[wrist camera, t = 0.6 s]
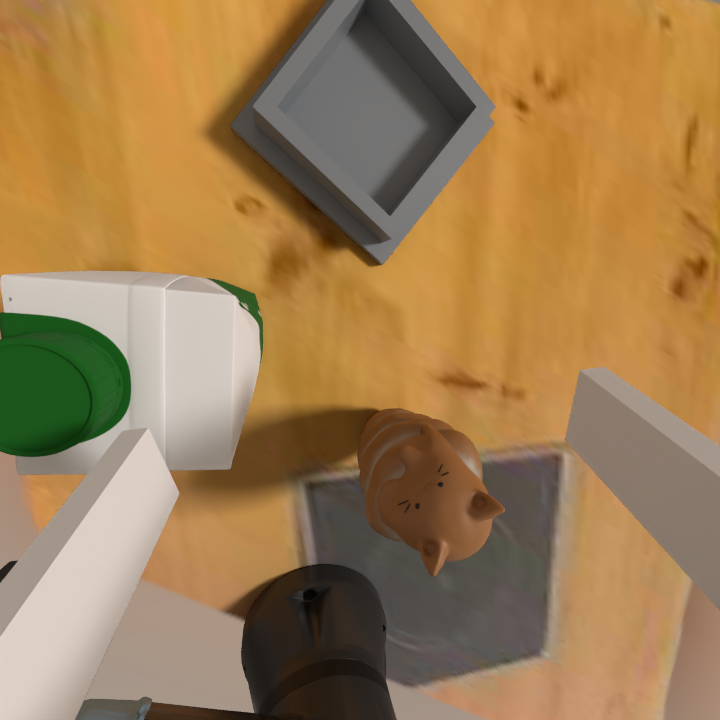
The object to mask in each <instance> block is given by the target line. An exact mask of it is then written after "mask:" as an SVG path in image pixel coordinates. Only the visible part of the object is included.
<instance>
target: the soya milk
mask: <svg viewBox="0 0 720 720" xmlns="http://www.w3.org/2000/svg"><path fill="white" fill-rule="evenodd" d="M0 284H1V294H2V301H3V308H4V312H1V313H0V330H1V337H2V339H1V340H0V451H1V452H4V453H7V454H10V455H15V456H16V468H17V473H18V474H19V475H61V474H88V473H89V472H90V471H91V469H92V468H93V467H94V466H95V464H96V463H97V462H98V461H99V459H100V458H101V457H102V456H103V454H104V453H105V452H106V451H107V449H108V448H109V447H110V446H111V444H112V443H113V442H114V441H115V439H116V438H117V437H118V436H119V434H120V433H121V432H122V431H126V430H133V429H141V428H149V430H150V432H151V434H152V436H153V438H154V440H155V443H156V445H157V447H158V449H159V451H160V453H161V455H162V457H163V459H164V461H165V464H166V466H167V468H168V470H169V471H180V470H227V469H230V468H231V465H232V461H233V458H234V454H235V451H236V448H237V444H238V441H239V437H240V434H241V431H242V428H243V424H244V421H245V418H246V415H247V412H248V409H249V406H250V402H251V399H252V396H253V393H254V389H255V384H256V380H257V376H258V372H259V367H260V363H261V358H262V350H263V321H262V317H261V313H260V310H259V306H258V303H257V300H256V296H255V294H254V293H251V292H249V291H246V290H244V289H241V288H239V287H236V286H234V285H231V284H228V283H226V282H223V281H220V280H215V279H209V278H202V277H194V276H188V275H179V274H168V273H154V272H130V271H72V272H48V273H27V274H6V275H2V276H1V277H0Z"/></svg>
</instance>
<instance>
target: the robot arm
mask: <svg viewBox="0 0 720 720" xmlns="http://www.w3.org/2000/svg"><path fill="white" fill-rule="evenodd" d="M565 440H566V442H567V443H568V444H569V445H570V446H571V447H572V448H573V449H574V450H575V452H576V453H577V454H578V455H579V456H580V457H581V458H582V459H583V460H584V461H585V463H586V464H587V465H588V466H589V467H590V468H591V469H592V470H593V471H594V472H595V474H596V475H597V476H598V477H599V478H600V479H601V480H602V481H603V482H604V483H605V485H606V486H607V487H608V488H609V489H610V490H611V491H612V492H613V493H614V495H615V496H616V497H617V498H618V499H619V500H620V501H621V502H622V503H623V504H624V506H625V507H626V508H627V509H628V510H629V511H630V512H631V513H632V514H633V515H634V517H635V518H636V519H637V520H638V521H639V522H640V523H641V524H642V525H643V526H644V528H645V529H646V530H647V531H648V532H649V533H650V534H651V535H652V536H653V538H654V539H655V540H656V541H657V542H658V543H659V544H660V545H661V546H662V547H663V549H664V550H665V551H666V552H667V553H668V554H669V555H670V556H671V557H672V558H673V560H674V561H675V562H676V563H677V564H678V565H679V566H680V567H681V568H682V570H683V571H684V572H685V573H686V574H687V575H688V576H689V577H690V578H691V579H692V581H693V582H694V583H695V584H696V585H697V586H698V587H699V588H700V589H701V590H702V592H703V593H704V594H705V595H706V596H707V597H708V598H709V599H710V600H711V601H712V603H713V604H714V605H715V606H716V607H717V608H718V609H719V610H720V446H719V445H718V444H716V443H715V442H713V441H712V440H710V439H709V438H707V437H706V436H704V435H703V434H701V433H700V432H699V431H697V430H696V429H694V428H693V427H691V426H690V425H688V424H687V423H685V422H684V421H682V420H681V419H680V418H678V417H677V416H675V415H674V414H672V413H671V412H669V411H668V410H666V409H665V408H663V407H662V406H661V405H659V404H658V403H656V402H655V401H653V400H652V399H650V398H649V397H647V396H646V395H644V394H643V393H642V392H640V391H639V390H637V389H636V388H634V387H633V386H631V385H630V384H628V383H627V382H626V381H624V380H623V379H621V378H620V377H618V376H617V375H615V374H614V373H612V372H611V371H609V370H608V369H607V368H605V367H600V368H592V369H585V370H580V372H579V377H578V381H577V386H576V391H575V395H574V400H573V405H572V410H571V414H570V419H569V424H568V428H567V433H566V438H565ZM179 494H180V493H179V491H178V489H177V487H176V485H175V483H174V480H173V478H172V476H171V474H170V472H169V470H168V468H167V466H166V464H165V461H164V459H163V457H162V455H161V453H160V451H159V449H158V447H157V445H156V443H155V440H154V438H153V436H152V434H151V432H150V430H149V428H141V429H133V430H126V431H122V432H121V433H120V434H119V436H118V437H117V438H116V439H115V441H114V442H113V443H112V444H111V446H110V447H109V448H108V449H107V451H106V452H105V453H104V454H103V456H102V457H101V458H100V459H99V461H98V462H97V463H96V464H95V466H94V467H93V468H92V469H91V471H90V472H89V473H88V474H87V476H86V477H85V478H84V479H83V481H82V482H81V483H80V484H79V486H78V487H77V488H76V489H75V491H74V492H73V493H72V494H71V496H70V497H69V498H68V499H67V501H66V502H65V503H64V504H63V506H62V507H61V508H60V509H59V511H58V512H57V513H56V514H55V516H54V517H53V518H52V519H51V521H50V522H49V523H48V524H47V526H46V527H45V528H44V529H43V531H42V532H41V533H40V534H39V536H38V537H37V538H36V539H35V540H34V542H33V543H32V544H31V545H30V547H29V548H28V549H27V550H26V552H25V553H24V554H23V555H22V557H21V558H20V559H19V560H18V561H11V562H9V563H8V564H7V565H5V566H4V567H3V568H2V569H1V570H0V720H397V719H396V716H395V712H394V709H393V706H392V702H391V699H390V695H389V691H388V687H387V683H386V654H385V642H386V619H385V614H384V610H383V607H382V604H381V601H380V598H379V595H378V593H377V591H376V589H375V587H374V586H373V585H372V583H371V582H370V581H369V580H368V579H367V578H366V577H364V576H363V575H362V574H360V573H358V572H356V571H354V570H352V569H350V568H346V567H342V566H337V565H317V566H310V567H306V568H302V569H299V570H297V571H294V572H292V573H289V574H287V575H285V576H284V577H282V578H280V579H279V580H277V581H276V582H274V583H273V584H272V585H270V586H269V587H268V588H267V589H266V590H265V591H264V592H263V593H262V594H261V595H260V596H259V597H258V598H257V600H256V601H255V602H254V604H253V605H252V607H251V609H250V611H249V613H248V615H247V617H246V620H245V624H244V629H243V638H242V648H241V649H242V650H241V657H242V658H241V659H242V666H243V670H244V673H245V677H246V679H247V681H248V684H249V689H250V694H251V699H252V703H253V709H254V713H248V712H238V711H227V710H217V709H208V708H199V707H190V706H181V705H172V704H163V703H154V702H152V699H150V698H148V697H143V698H141V699H140V700H139V701H134V700H111V699H89V700H85V701H84V699H85V697H86V695H87V693H88V690H89V688H90V686H91V684H92V682H93V680H94V677H95V675H96V673H97V671H98V669H99V666H100V664H101V662H102V660H103V658H104V656H105V654H106V651H107V649H108V647H109V645H110V643H111V641H112V638H113V636H114V634H115V632H116V629H117V627H118V625H119V623H120V621H121V619H122V617H123V615H124V612H125V610H126V608H127V606H128V604H129V602H130V600H131V597H132V595H133V593H134V591H135V588H136V587H137V584H138V582H139V580H140V578H141V576H142V574H143V571H144V569H145V567H146V565H147V563H148V561H149V558H150V556H151V554H152V552H153V550H154V548H155V545H156V543H157V541H158V539H159V537H160V535H161V532H162V530H163V528H164V526H165V524H166V522H167V519H168V517H169V515H170V513H171V511H172V509H173V506H174V504H175V502H176V500H177V498H178V496H179Z"/></svg>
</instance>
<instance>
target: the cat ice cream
mask: <svg viewBox="0 0 720 720" xmlns="http://www.w3.org/2000/svg"><path fill="white" fill-rule="evenodd" d="M357 459H358V464H359V468H360V475H359V479H360V485H361V489H362V492H363V494H364V496H365V498H366V515H367V519H368V522H369V524H370V526H371V527H372V528H373V529H374V530H375V531H376V532H377V533H379V534H381V535H383V536H384V537H386V538H389V539H392V540H394V541H399V542H405V543H406V544H408V545H409V546H411V547H412V548H414V549H416V550H418V551H420V552H421V556H422V559H423V562H424V564H425V566H426V568H427V570H428V572H429V573H430V575H431V576H432V577H435V576H436V574H437V573H438V571H439V570H440V568H441V567H442V565H443V564H444V561H458V560H462V559H465V558H467V557H469V556H471V555H473V554H474V553H476V552H477V551H478V550H479V549H480V548H481V547H482V546H483V545H484V543H485V542H486V540H487V538H488V536H489V534H490V531H491V527H492V519H493V518H494V517H496V516H498V515H499V514H501V513H503V512H504V511H505V509H504V507H503V506H502V505H501V504H500V503H499V502H498V501H497V500H496V499H494V498H493V497H491V496H490V495H488V492H487V490H486V488H485V486H484V484H483V483H482V465H481V461H480V458H479V454H478V452H477V450H476V448H475V446H474V444H473V443H472V442H471V440H470V439H469V438H468V437H467V436H465V435H464V434H463V433H461V432H459V431H456V430H454V429H453V428H452V427H451V426H450V425H448V424H447V423H445V422H443V421H440V420H437V419H432V418H430V417H428V416H425V415H422V414H415V413H413V412H411V411H408V410H404V409H400V408H397V409H385V410H382V411H379V412H377V413H376V414H374V415H373V416H372V417H371V418H370V419H369V420H368V421H367V423H366V425H365V427H364V429H363V431H362V433H361V436H360V444H359V447H358V452H357Z"/></svg>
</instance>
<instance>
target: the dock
mask: <svg viewBox="0 0 720 720" xmlns="http://www.w3.org/2000/svg"><path fill="white" fill-rule="evenodd" d="M495 107H496V106H495V105H494V104H493V102H492V101H491V100H490V99H489V97H488V96H487V95H486V94H485V93H484V91H483V90H482V89H481V88H480V86H479V85H478V84H477V83H476V81H475V80H474V79H473V78H472V76H471V75H470V74H469V73H468V71H467V70H466V69H465V68H464V66H463V65H462V64H461V63H460V61H459V60H458V59H457V58H456V56H455V55H454V54H453V53H452V51H451V50H450V49H449V48H448V46H447V45H446V44H445V43H444V41H443V40H442V39H441V38H440V36H439V35H438V34H437V33H436V31H435V30H434V29H433V28H432V26H431V25H430V24H429V23H428V21H427V20H426V19H425V18H424V16H423V15H422V14H421V13H420V11H419V10H418V9H417V8H416V7H415V5H414V4H413V3H412V2H411V0H327V1H326V2H325V4H324V5H323V6H322V7H321V9H320V10H319V11H318V13H317V14H316V15H315V17H314V18H313V19H312V20H311V22H310V23H309V24H308V26H307V27H306V28H305V29H304V31H303V32H302V33H301V35H300V36H299V37H298V39H297V40H296V41H295V42H294V44H293V45H292V46H291V48H290V49H289V50H288V51H287V53H286V54H285V55H284V57H283V58H282V59H281V61H280V62H279V63H278V64H277V66H276V67H275V68H274V70H273V71H272V72H271V73H270V75H269V76H268V77H267V79H266V80H265V81H264V83H263V84H262V85H261V86H260V88H259V89H258V90H257V92H256V93H255V94H254V95H253V97H252V98H251V99H250V101H249V102H248V103H247V105H246V106H245V107H244V108H243V110H242V111H241V112H240V114H239V115H238V116H237V117H236V119H235V120H234V121H233V123H232V124H231V129H232V131H233V132H234V133H235V134H236V135H237V136H238V137H240V138H241V139H242V140H243V141H244V142H245V143H246V144H247V145H248V146H249V147H251V148H252V149H253V150H254V151H255V152H256V153H257V154H258V155H259V156H260V157H262V158H263V159H264V160H265V161H266V162H267V163H268V164H269V165H270V166H272V167H273V168H274V169H275V170H276V171H277V172H278V173H279V174H280V175H281V176H283V177H284V178H285V179H286V180H287V181H288V182H289V183H290V184H291V185H292V186H294V187H295V188H296V189H297V190H298V191H299V192H300V193H301V194H302V195H303V196H305V197H306V198H307V199H308V200H309V201H310V202H311V203H312V204H313V205H314V206H316V207H317V208H318V209H319V210H320V211H321V212H322V213H323V214H324V215H325V216H327V217H328V218H329V219H330V220H331V221H332V222H333V223H334V224H335V225H337V226H338V227H339V228H340V229H341V230H342V231H343V232H344V233H345V234H346V235H348V236H349V237H350V238H351V239H352V240H353V241H354V242H355V243H356V244H357V245H359V246H360V247H361V248H362V249H363V250H364V251H365V252H366V253H367V254H368V255H370V256H371V257H372V258H373V259H374V260H375V261H376V262H377V263H378V264H379V265H383V264H384V263H385V261H386V260H387V259H388V258H389V256H390V255H391V254H392V253H393V251H394V250H395V249H396V248H397V246H398V245H399V244H400V242H401V241H402V240H403V239H404V237H405V236H406V235H407V234H408V232H409V231H410V230H411V229H412V227H413V226H414V225H415V223H416V222H417V221H418V220H419V218H420V217H421V216H422V215H423V213H424V212H425V211H426V210H427V208H428V207H429V206H430V204H431V203H432V202H433V201H434V199H435V198H436V197H437V196H438V194H439V193H440V192H441V191H442V189H443V188H444V187H445V185H446V184H447V183H448V182H449V180H450V179H451V178H452V177H453V175H454V174H455V173H456V172H457V170H458V169H459V168H460V166H461V165H462V164H463V163H464V161H465V160H466V159H467V158H468V156H469V155H470V154H471V153H472V151H473V150H474V149H475V147H476V146H477V145H478V144H479V142H480V141H481V140H482V139H483V137H484V136H485V135H486V134H487V132H488V131H489V130H490V128H491V127H492V126H493V125H494V121H493V120H492V119H491V118H490V117H489V115H490V114H491V112H492V111H493V110H494V109H495Z"/></svg>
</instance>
